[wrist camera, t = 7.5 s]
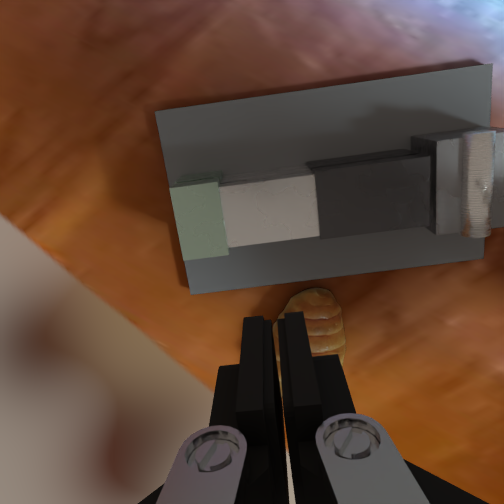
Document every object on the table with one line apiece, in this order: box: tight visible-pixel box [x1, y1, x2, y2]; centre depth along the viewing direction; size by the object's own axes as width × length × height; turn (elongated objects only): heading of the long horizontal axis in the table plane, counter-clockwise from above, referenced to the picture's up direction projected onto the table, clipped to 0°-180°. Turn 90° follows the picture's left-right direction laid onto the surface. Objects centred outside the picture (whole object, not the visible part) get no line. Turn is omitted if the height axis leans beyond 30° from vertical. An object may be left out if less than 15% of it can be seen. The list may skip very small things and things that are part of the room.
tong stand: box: [175, 126, 504, 238], centre depth 29 cm, size 22×6×5 cm, turn 98°
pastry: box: [272, 288, 346, 397], centre depth 35 cm, size 9×7×4 cm
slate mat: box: [155, 63, 493, 295], centre depth 32 cm, size 23×14×1 cm, turn 98°
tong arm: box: [169, 154, 430, 261], centre depth 28 cm, size 16×5×2 cm, turn 98°
